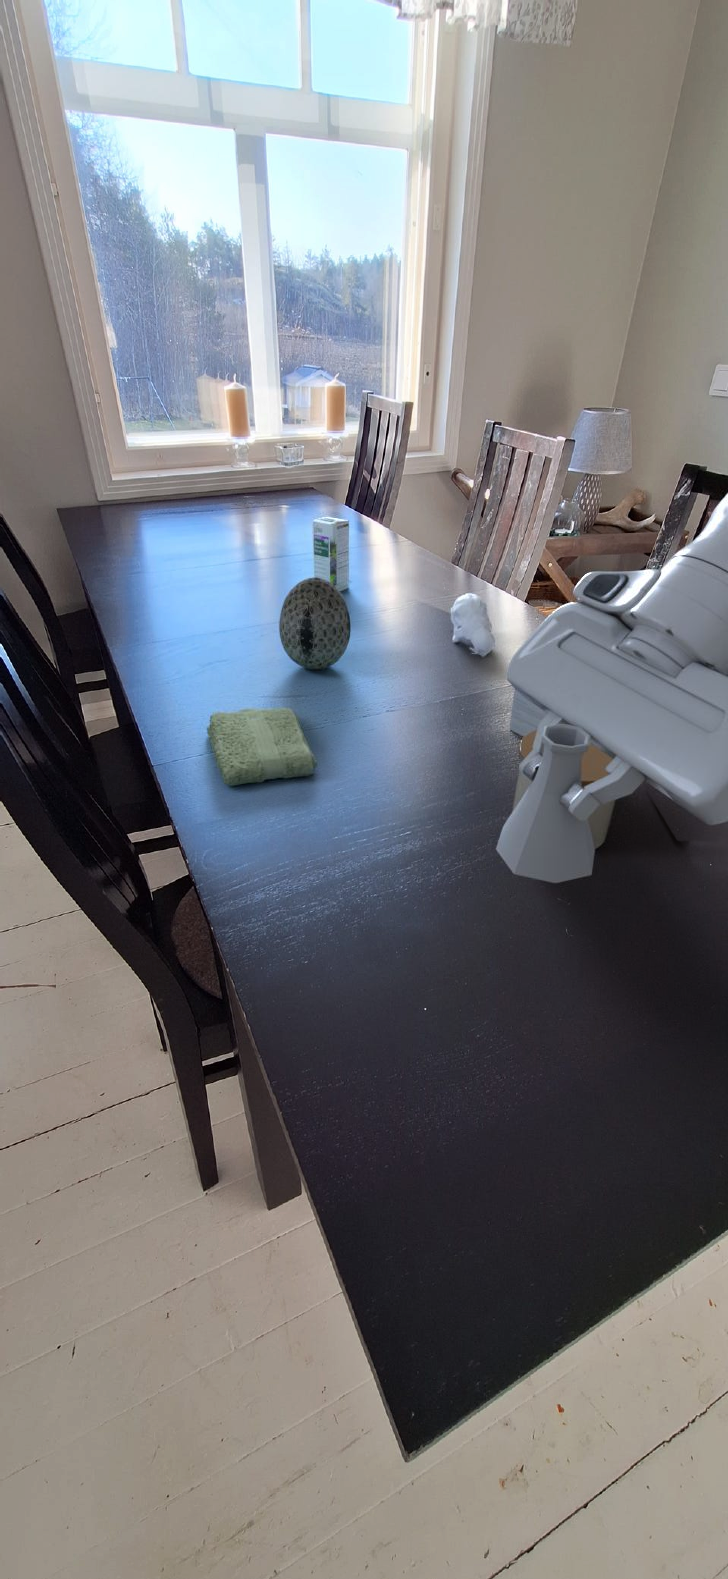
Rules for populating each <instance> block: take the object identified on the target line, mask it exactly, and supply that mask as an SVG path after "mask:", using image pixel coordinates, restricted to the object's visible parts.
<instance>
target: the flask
mask: <svg viewBox="0 0 728 1579" xmlns="http://www.w3.org/2000/svg"><path fill="white" fill-rule="evenodd" d="M590 738H591V736H590V735H589V734H588V733H587V732H586V731H585V730H584V729H582V728H581V727H578V726H572V725H566V724H557V725H551V726H545V727H544V730H543V734H542V737H541V741H542V743H543V744H544V752H543V758H542V760H541V763H540V766H539V768H538V771H537V774H536V776H535V778H534V780H533V781H532V782H531V784H530V785H529V787H528V789H527V790H526V792H525V794H524V795H523V797H522V799H521V800H520V802H519V803H518V805H517V806H516V808H515V809H514V811H513V812H512V811H511V813H510V815H509V817H508V818H507V819H506V821H505V823H504V825H503V826H502V828H501V832H500V836H499V838H498V841H497V845H496V847H495V851H497V853H498V854H499V856H500V857H501V859H502V860H503V861H504V862H505V864H506V865H507V867H508V868H509V869H510V871H511V872H512V874H513V875H516V876H520V877H526V878H531V879H534V880H539V881H544V882H548V883H553V884H558V883H562V882H567V881H571V880H572V881H573V880H575V879H580V878H584V877H589V876H592V875H593V867H594V860H595V853H596V849H594V844H593V839H592V834H591V830H590V826H589V822H588V818H587V819H586V820H585V821H579V820H578V819H577V818H576V817H574V816H573V815H572V814H571V813H570V812H569V811H568V810H566V809H565V808H564V807H563V806H562V805H561V804H560V803H559V801H560V798H561V797H562V795H563V794H565V793H568V789H569V788H570V787H571V786H572V784H573V783H574V782H576V783H578V784H579V785H580V786H582V785H581V761H582V756H583V753H584V752H587V751H588V749H589V744H590Z"/></svg>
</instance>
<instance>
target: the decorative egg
mask: <svg viewBox="0 0 728 1579" xmlns="http://www.w3.org/2000/svg"><path fill="white" fill-rule="evenodd" d="M351 625H352V624H351V615H350V612H349V607H348V604H347V602H346V600H345V598H344V596H343V594H342V593H341V591H340V592H339V590H338V589H337V588H336V587H335V586H334V585H333V584H332V583H330V582H329V581H327V580H324V579H322V578H316V577H314V576H312V577H308V578H305V579H303V580H301V581H299V582H298V583H296V584H295V585H294V586H293V587H292V588H291V589H290V591H289V592H288V593H287V594H286V597H285V599H284V601H283V603H282V606H281V610H280V615H279V622H278V629H279V630H278V631H279V638H280V642H281V646H282V648H283V650H284V652H285V653H286V655H287V656H288V658H289V659H291V661H293V662H294V663H295V664H296V665H297V666H299V667H302V668H304V669H308V670H312V671H313V670H315V671H316V670H323V669H326V668H329V667H331V666H333V665H335V663H337V662H338V661H339V660H340V659H341V658H342V656H343V655H344V654H345V652H346V651H347V648H348V646H349V643H350V638H351V632H352V629H351V628H352V627H351Z"/></svg>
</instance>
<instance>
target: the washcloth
mask: <svg viewBox="0 0 728 1579" xmlns="http://www.w3.org/2000/svg"><path fill="white" fill-rule="evenodd" d="M300 724H301V722H300V719H299V718H298V715H297V712H296V711H295V710H294V709H292V708H288V707H276V708H244V709H240V710H238V711H234V712H233V711H232V712H227V711H216V712H213V713H212V715H210V716H209V725H208V726H207V727H206V734H207V736H208V738H209V742H210V745H211V748H212V752H213V756H214V760H215V762H216V767H217V768H218V771H219V773H220V775H221V777H222V781H223V783H224V784H225V785H226V786H227V787H233V786H238V785H242V784H254V783H263V782H265V781H266V780H273V779H278V778H281V779H290V778H298V777H308V776H310V775H313V774H314V773H315V770H314V769H316V768H317V766H318V761H317V760H316V758H315V756H314V753H313V751H312V750H311V748H310V745H309V743H308V740H307V739H306V737H305V734H304V732H303V730H302V726H300Z"/></svg>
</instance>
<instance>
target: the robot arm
mask: <svg viewBox="0 0 728 1579" xmlns="http://www.w3.org/2000/svg"><path fill="white" fill-rule="evenodd" d="M572 593H573V596H574V598H575V599H576V600H577V601H573V602H568V603H565V604H562V605H561V606H559V607H558V608H556V609H555V610H553V611H552V612H551V613H550V614H549V615H547V617H546V618H545V619H543V621H542V622H541V623H540V624H539V625H538V626H537V627H536V629H535V630H534V631H533V632H532V633H531V634H530V635H529V636H528V637H527V639H526V640H525V641H524V642H523V643H522V644H521V646H520V647H519V648H518V649H517V650H516V652H515V653H514V654H513V656H512V657H511V658H510V660H509V662H508V666H507V669H506V676H505V678H506V680H507V682H508V683H509V685H511V686H512V687H513V688H514V690H515V689H516V690H517V691H518V692H519V693H520V694H521V695H522V696H524V697H525V698H526V699H527V700H529V701H530V702H532V703H533V704H535V705H536V706H537V707H539V708H540V709H542V710H543V711H545V712H546V713H547V714H546V716H545V717H544V718H543V719H542V720H541V721H540V722H539V725H538V729H537V733H536V737H535V740H534V744H533V750H532V751H531V752H530V753H529V754H528V756H527V757H526V758H525V759H524V760H523V761H522V762H521V764H520V763H519V764H518V771H519V770H520V771H521V772H522V773H523V774H524V775H526V776H527V777H528V778H529V779H530V780H532V781H533V780H534V778H535V776H536V774H537V771H538V768H539V766H540V763H541V760H542V758H543V752H544V744H543V743H542V741H541V737H542V734H543V730H544V727H545V726H551V725H557V724H566V725H572V726H578V727H581V728H582V729H584V730H585V731H586V732H587V733H588V734H589V735H590V736H591V738H590V743H591V744H592V745H594V746H595V747H596V748H598V749H599V750H601V751H602V752H604V753H605V754H607V755H608V756H609V757H611V758H612V759H613V760H612V761H611V762H610V763H609V764H608V766H607V767H606V768H605V770H606V771H607V772H608V773H609V774H610V775H608V776H605V777H603V778H601V779H599V780H597V781H595V782H593V783H591V784H589V785H587V786H585V787H584V788H585V789H584V788H583V787H582V786H580V785H579V784H578V783H576V782H574V783H573V784H572V786H571V787H570V788H569V789H568V793H565V794H563V795H562V797H561V798H560V801H559V803H560V804H561V805H562V806H563V807H564V808H565V809H566V810H568V811H569V812H570V813H571V814H572V815H573V816H574V817H576V818H577V819H578V820H579V821H585V820H586V819H587V818H588V817H589V816H590V815H591V814H592V813H593V812H594V811H595V810H596V809H597V807H598V806H599V805H600V804H601V803H602V804H605V803H608V802H610V801H613V800H616V801H617V800H618V799H621V798H624V797H627V796H629V795H632V794H634V792H635V791H636V790H637V789H638V788H639V787H640V786H641V784H642V783H643V782H645V783H647V784H648V785H650V786H651V787H653V789H655V790H657V791H658V792H659V793H661V794H663V795H664V796H666V797H667V798H669V799H670V800H672V801H673V802H674V803H675V804H677V805H678V806H680V807H682V808H683V809H684V810H686V811H687V812H689V813H690V814H691V815H693V816H694V817H696V818H697V819H699V820H700V821H702V822H703V823H704V824H706V825H708V826H714V825H720V824H723V823H727V822H728V493H726V494H725V496H724V497H723V498H722V499H721V500H720V501H719V503H717V505H716V506H715V507H714V509H713V511H712V512H711V515H710V517H709V519H708V521H707V523H706V524H705V526H704V528H703V529H702V530H701V532H700V533H699V535H698V536H696V537H695V539H694V540H692V541H691V542H690V543H689V544H687V545H686V546H684V547H682V548H681V549H680V550H678V551H676V552H675V553H674V554H673V555H672V556H671V557H670V558H669V559H668V560H667V561H666V563H665V564H664V565H663V566H662V567H661V569H657V568H649V569H641V570H629V571H627V570H626V571H602V570H597V571H590V572H588V573H586V574H584V576H582V577H581V578H580V579H579V581H578V582H577V583H576V584H575V586H574V588H573V590H572Z"/></svg>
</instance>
